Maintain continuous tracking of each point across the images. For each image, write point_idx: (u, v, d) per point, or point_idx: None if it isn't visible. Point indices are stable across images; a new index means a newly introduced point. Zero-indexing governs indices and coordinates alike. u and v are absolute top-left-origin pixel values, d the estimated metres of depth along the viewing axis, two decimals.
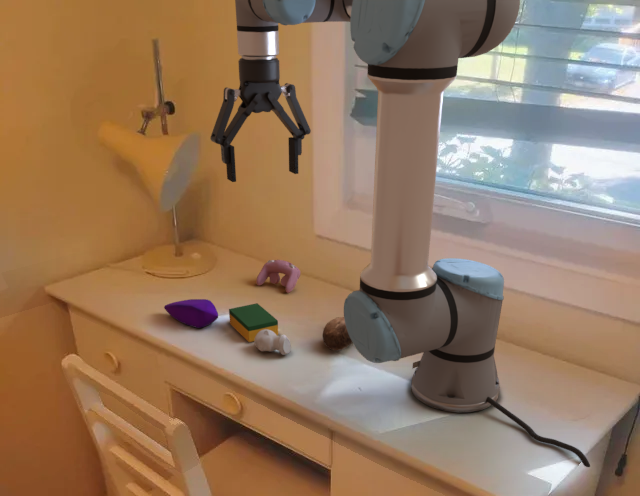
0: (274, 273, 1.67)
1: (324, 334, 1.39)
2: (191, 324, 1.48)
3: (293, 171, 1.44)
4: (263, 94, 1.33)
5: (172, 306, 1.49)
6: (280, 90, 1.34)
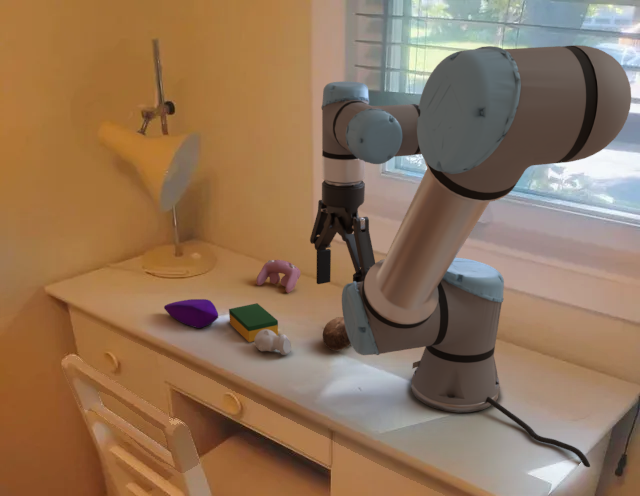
0: (274, 273, 1.67)
1: (324, 334, 1.39)
2: (191, 324, 1.48)
3: None
4: (337, 216, 1.27)
5: (172, 306, 1.49)
6: (348, 219, 1.24)
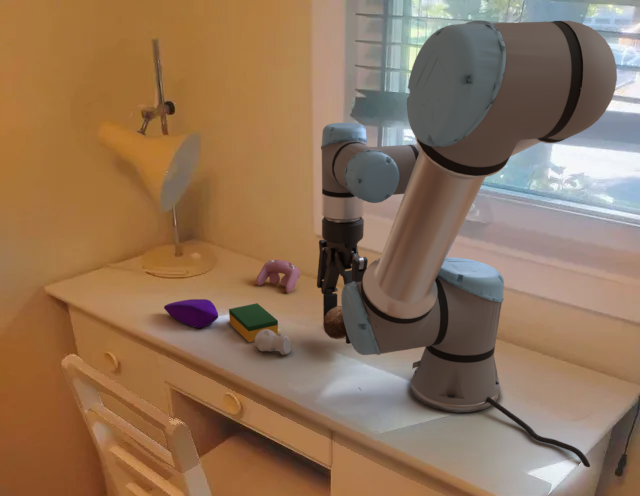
0: (274, 273, 1.67)
1: (325, 323, 1.37)
2: (191, 324, 1.48)
3: None
4: (337, 251, 1.30)
5: (172, 306, 1.49)
6: (348, 255, 1.27)
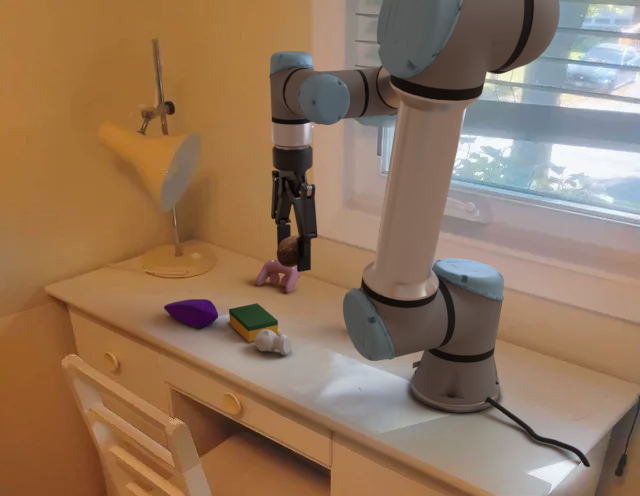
0: (274, 273, 1.67)
1: (278, 252, 1.42)
2: (191, 324, 1.48)
3: None
4: (287, 180, 1.35)
5: (172, 306, 1.49)
6: (296, 183, 1.32)
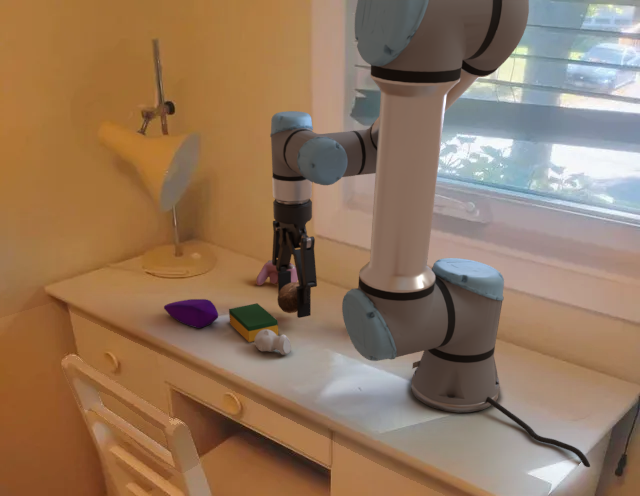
0: (274, 273, 1.67)
1: (279, 298, 1.48)
2: (191, 324, 1.48)
3: None
4: (288, 231, 1.40)
5: (172, 306, 1.49)
6: (297, 235, 1.37)
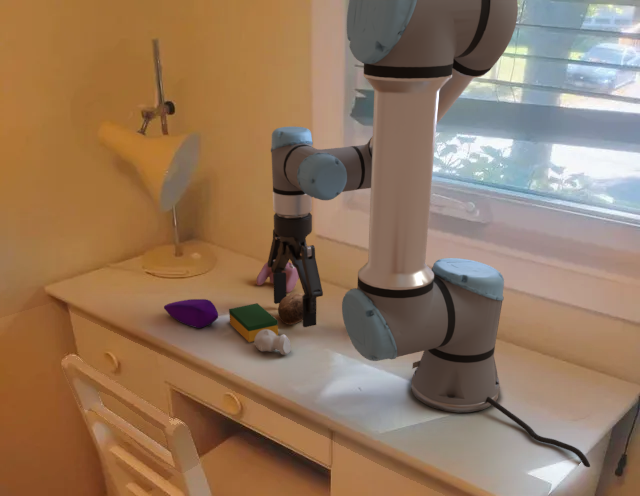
0: None
1: (279, 309, 1.49)
2: (191, 324, 1.48)
3: None
4: (288, 244, 1.41)
5: (172, 306, 1.49)
6: (297, 247, 1.39)
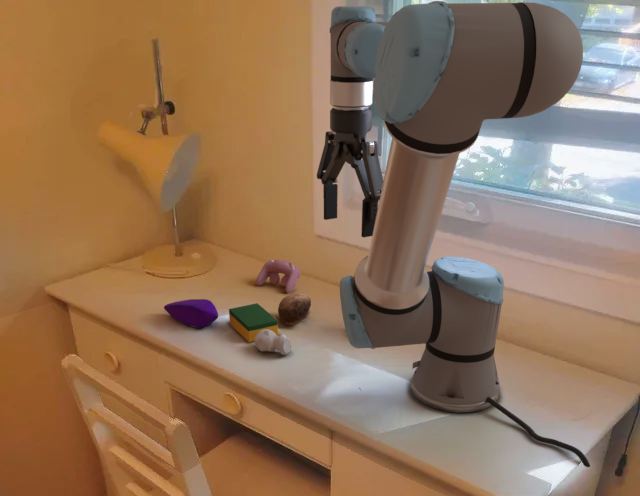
0: (274, 273, 1.67)
1: (279, 309, 1.49)
2: (191, 324, 1.48)
3: None
4: None
5: (172, 306, 1.49)
6: (357, 145, 1.26)
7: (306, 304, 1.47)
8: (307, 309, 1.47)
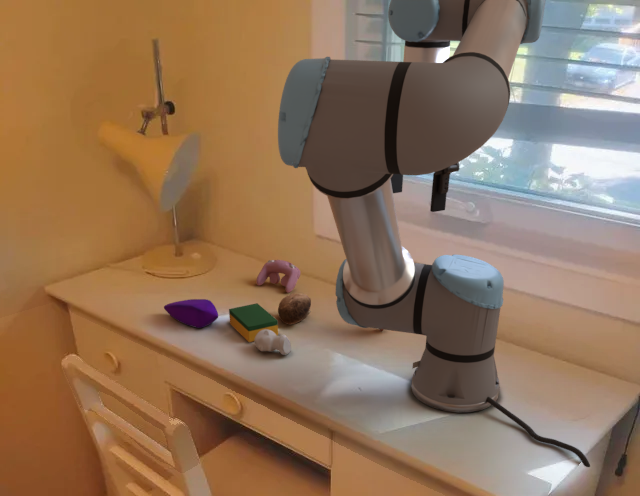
0: (274, 273, 1.67)
1: (279, 309, 1.49)
2: (191, 324, 1.48)
3: None
4: None
5: (172, 306, 1.49)
6: None
7: (306, 304, 1.47)
8: (307, 309, 1.47)
